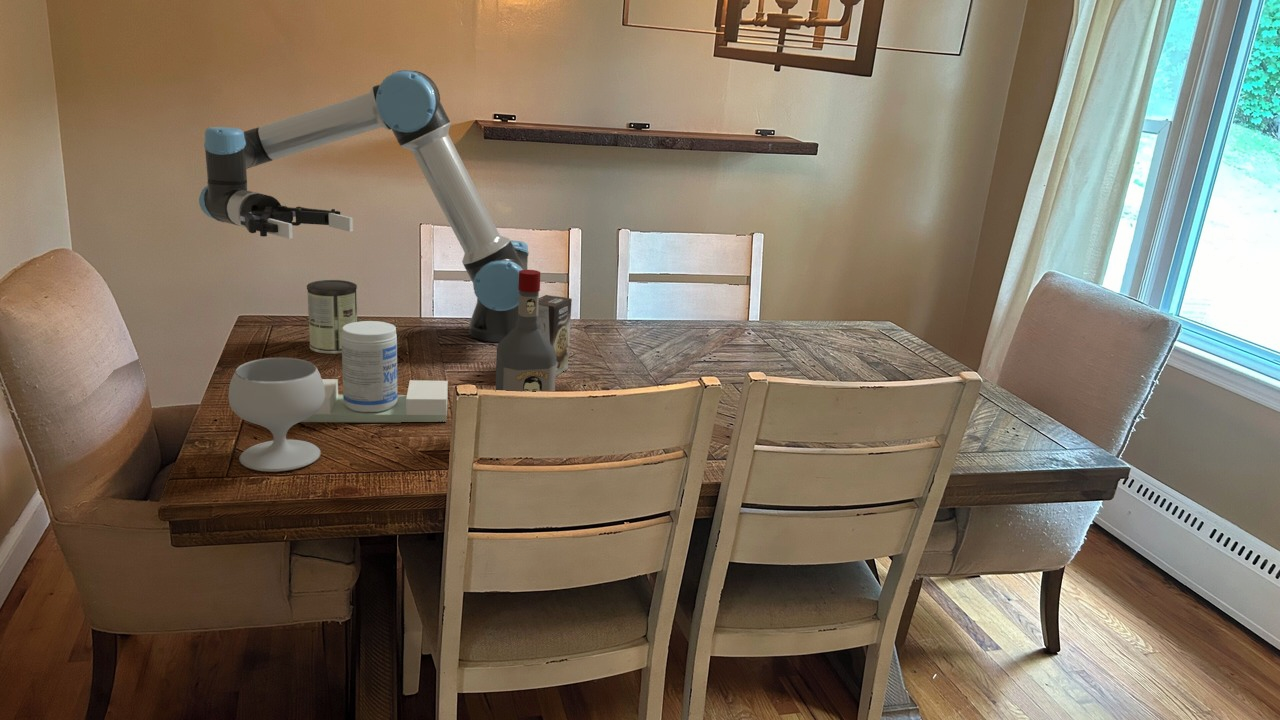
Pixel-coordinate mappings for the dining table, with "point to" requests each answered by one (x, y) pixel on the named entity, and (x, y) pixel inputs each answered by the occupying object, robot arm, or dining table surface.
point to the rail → (417, 406)
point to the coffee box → (556, 326)
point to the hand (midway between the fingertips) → (322, 227)
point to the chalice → (277, 409)
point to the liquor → (526, 345)
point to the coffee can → (330, 313)
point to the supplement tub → (369, 366)
